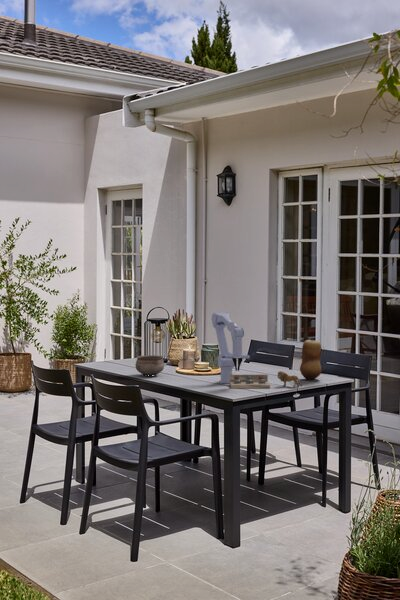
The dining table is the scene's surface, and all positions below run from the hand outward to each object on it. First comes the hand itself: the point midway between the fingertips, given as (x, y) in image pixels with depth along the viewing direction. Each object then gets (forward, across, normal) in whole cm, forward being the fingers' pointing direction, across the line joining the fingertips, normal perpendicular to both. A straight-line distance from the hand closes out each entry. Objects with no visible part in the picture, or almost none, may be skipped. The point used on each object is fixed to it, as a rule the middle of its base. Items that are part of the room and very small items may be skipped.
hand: (237, 370), depth 475 cm
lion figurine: (+10, +31, -1) cm, 32 cm away
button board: (+9, +8, 0) cm, 12 cm away
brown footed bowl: (+10, -54, +44) cm, 70 cm away
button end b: (+8, +15, 0) cm, 17 cm away
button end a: (+8, 0, 0) cm, 8 cm away
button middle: (+8, +8, 0) cm, 11 cm away
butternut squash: (+10, +48, +25) cm, 55 cm away
